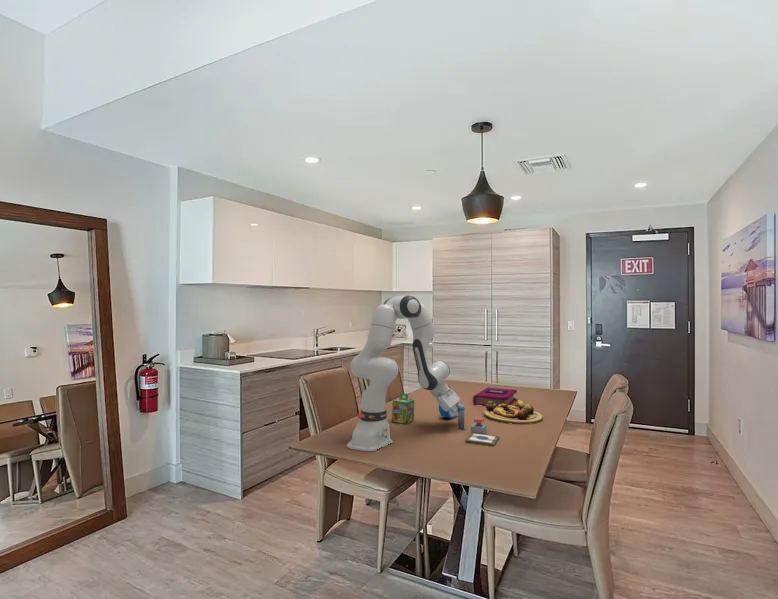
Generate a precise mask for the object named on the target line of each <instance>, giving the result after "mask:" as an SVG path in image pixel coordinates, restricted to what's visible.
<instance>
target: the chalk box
mask: <svg viewBox="0 0 778 599" xmlns="http://www.w3.org/2000/svg"><path fill="white" fill-rule="evenodd" d="M403 396H404V397H403ZM391 410H392V411H391V422H392V423H396V422H397V424H402V423H405V424H404V425H408V424H410V423H412V422H413V420H414V421H415V400H414V399H413V398H409V394H408V393H403V392H401V393H400V395H399V398H396V399H394V400H392V409H391ZM411 421H412V422H411ZM409 422H410V423H409Z"/></svg>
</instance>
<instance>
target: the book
mask: <svg viewBox="0 0 778 599" xmlns="http://www.w3.org/2000/svg"><path fill="white" fill-rule="evenodd" d="M516 393H517V389H508V388H500V387H499V388H497V387H486V388H483V390H481V391H479V392H478V393H476V394H474V395H473V396H472V404H473V406H477V405H482V406H481V407H485V406H486V404H487V402H488V401H492V402H494V403H495V404H496V407H498V405H499V404H506V405H511V404H512V403H513V402H514V401H515V400H516V401H517V398H516V397H515V396H514V395H515V394H516ZM516 401H515V402H516ZM515 402H514V403H515ZM514 403H513V404H514ZM513 404H512V405H513Z"/></svg>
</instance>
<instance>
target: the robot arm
mask: <svg viewBox="0 0 778 599" xmlns="http://www.w3.org/2000/svg"><path fill="white" fill-rule="evenodd" d="M397 319H400V320H403V319H407V320H408V322H409V326H410V328H411V332H412V337H413V338H412V339H413V340H412V352H413V356H414V362H415V365H416V370H417V374H416V375H417V378H418V379H417V381H418V383H419V385H420V387H421V388H423V389H424V390H426V391H429V392H430V394H431V395H432V396H433V397H434V399H435V400H436V401H437V404H438V406H439V405H440V406H441V407H442V408H443V410H444V411H446V412H447V411H448V410H449V411H450V412H451V413H453V414H454V415H455V417H458V414H459V413H458V412H457V411H455V410H454V408H453V406H456V407H458V405H459V404H461V403H460V402H461V398H460V397H459V395H458V394H457V392H456V391H455V390H454V389H453V387H452V386H451V385H450V384H447V383H445V382H444V380H446V379H447V378H448V377H449V375H450V373H451V371H450V367H449V365H448V363H446V362H445V361H442V360H437V361H435V362H433V363H430V364H429V361H428V357H427V349H428V347H429V345H430V343H431V341H432V340H433V338H434V337H435V334H436V330H435V325H434V322H433V320H432V317H431V314H430V313H429V311H428V308H427V307H426V306H425V305H424V303H421V302H420V301H419V299H418V298H417V297H415V296H413V295H397V296H393V297H389V298H387V299H386V300H385V301H384V302H383V304H380V305H378V306H377V307H376V308H375V310H374V312H373V316H372V319H371V322H370V326H369V327H370V328H369V333H368V335H367V338H366V342H365V344H364V346H363V348H362V350H361V351H360V352H359V354H357V355H356V356H354V357H353V359H352V360H351V362H350V366H349V367H350V371H351V373H352V374H353V375H354V376H355V377H357V378H360V379H363V380H369V381H370V382H369V385H368V388H366V389H365V390H364V391H363V392H362V393H361V410H360V412H359V413H357V418H358V419H359V420H358V423H357V424H356V426H355V428H354V430H353V432H352V439H351V440H350V441H349V442H348V443H346V448H348V449H351V450H356V451H364V452H375V451H377V449H378V450H379V448H380V449H382V448H384V447H387V446H389V445H391V444H392V443H393V439H391V436H390V435H391V434H390V432H391V431H390V424H389V423H388V420H387V414H388V413H387V409H386V404H387V402H386V401H387V391H388V389H389V386H390V385H391V383H392V382H393V381H394V380H395V379H396V378H397V376H398V374H399V365H398V363H397V362H396V360H394V359H391V358H388V357H385V356H384V357H383V356H381V355H382V354H383V352H384V351H385V350H387V349H388V348H390V347H391V344H392V341H393V340H392V339H393V335H394V329H395V323H396V321H397ZM454 391H455V392H456V393H455V392H454ZM390 443H391V444H390ZM388 444H389V445H388ZM381 447H382V448H381Z"/></svg>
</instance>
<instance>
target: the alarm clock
mask: <svg viewBox="0 0 778 599" xmlns="http://www.w3.org/2000/svg"><path fill="white" fill-rule="evenodd" d="M454 392H455V393H456V394H457V392H456V391H455V390H454ZM453 408H454V410H455V411H457V412H458V407H456V406H453ZM438 412H439V415H440V416H441V417H443V418H448V420H451V419H455V418H456V416H455V415H454V414H453V413H451V412H450V411H449V410H448V411H447V412H446V411H444V410H443V408H442V407H441V406H440V405H439V404H438Z"/></svg>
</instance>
